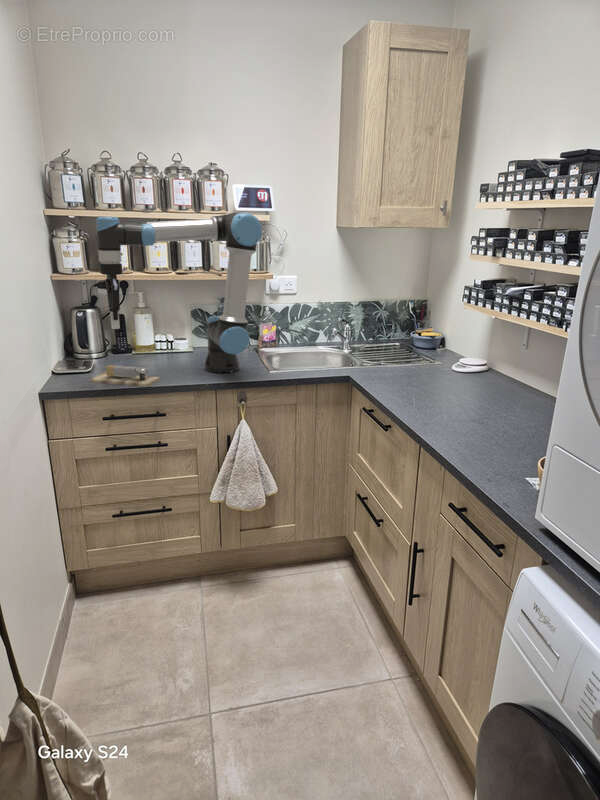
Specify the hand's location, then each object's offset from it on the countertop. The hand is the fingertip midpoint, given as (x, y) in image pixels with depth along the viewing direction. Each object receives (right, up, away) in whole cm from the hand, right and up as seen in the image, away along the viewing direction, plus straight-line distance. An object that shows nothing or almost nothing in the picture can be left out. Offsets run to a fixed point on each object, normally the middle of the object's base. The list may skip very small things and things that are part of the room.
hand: (115, 328), depth 200 cm
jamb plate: (+6, -19, +13) cm, 24 cm away
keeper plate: (-6, -18, +15) cm, 24 cm away
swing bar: (0, -17, +13) cm, 21 cm away
